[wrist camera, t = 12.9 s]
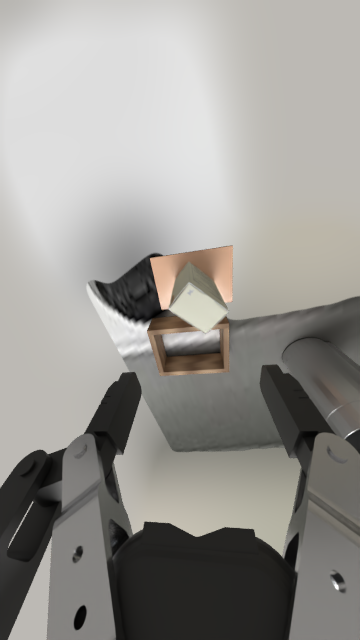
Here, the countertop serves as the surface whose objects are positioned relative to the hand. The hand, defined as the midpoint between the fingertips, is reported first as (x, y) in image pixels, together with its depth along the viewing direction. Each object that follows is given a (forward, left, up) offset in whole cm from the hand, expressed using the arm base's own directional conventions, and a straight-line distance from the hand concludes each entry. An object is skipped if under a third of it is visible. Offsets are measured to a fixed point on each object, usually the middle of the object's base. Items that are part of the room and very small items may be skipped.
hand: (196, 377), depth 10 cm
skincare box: (0, 0, -22) cm, 22 cm away
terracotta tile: (0, 0, -23) cm, 23 cm away
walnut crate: (+2, +13, -23) cm, 26 cm away
